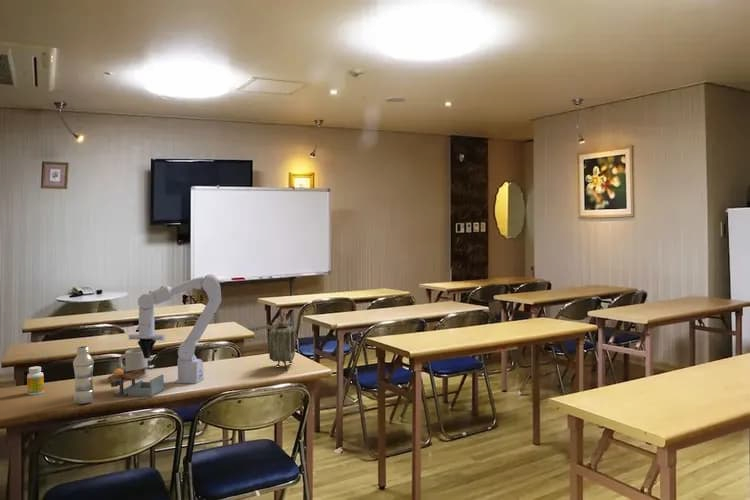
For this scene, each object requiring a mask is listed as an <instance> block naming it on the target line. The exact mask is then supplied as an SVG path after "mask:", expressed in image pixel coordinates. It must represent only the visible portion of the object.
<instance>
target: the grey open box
mask: <svg viewBox="0 0 750 500" xmlns="http://www.w3.org/2000/svg"><path fill="white" fill-rule="evenodd" d="M164 380H165V379H164V374H160V375H158V376H156V377H155V378H153V379H150V380H149V381H143V380H142V379H140V380H139V381H137V382H135V384H133V385H132V384H131V385H129V386H128V396H127V397H142V398H143V397H147V398H152V397H154V396H156V395H158V394H160V393H161V392H163V391H164V389H165V387H164V386H165V382H164Z"/></svg>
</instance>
